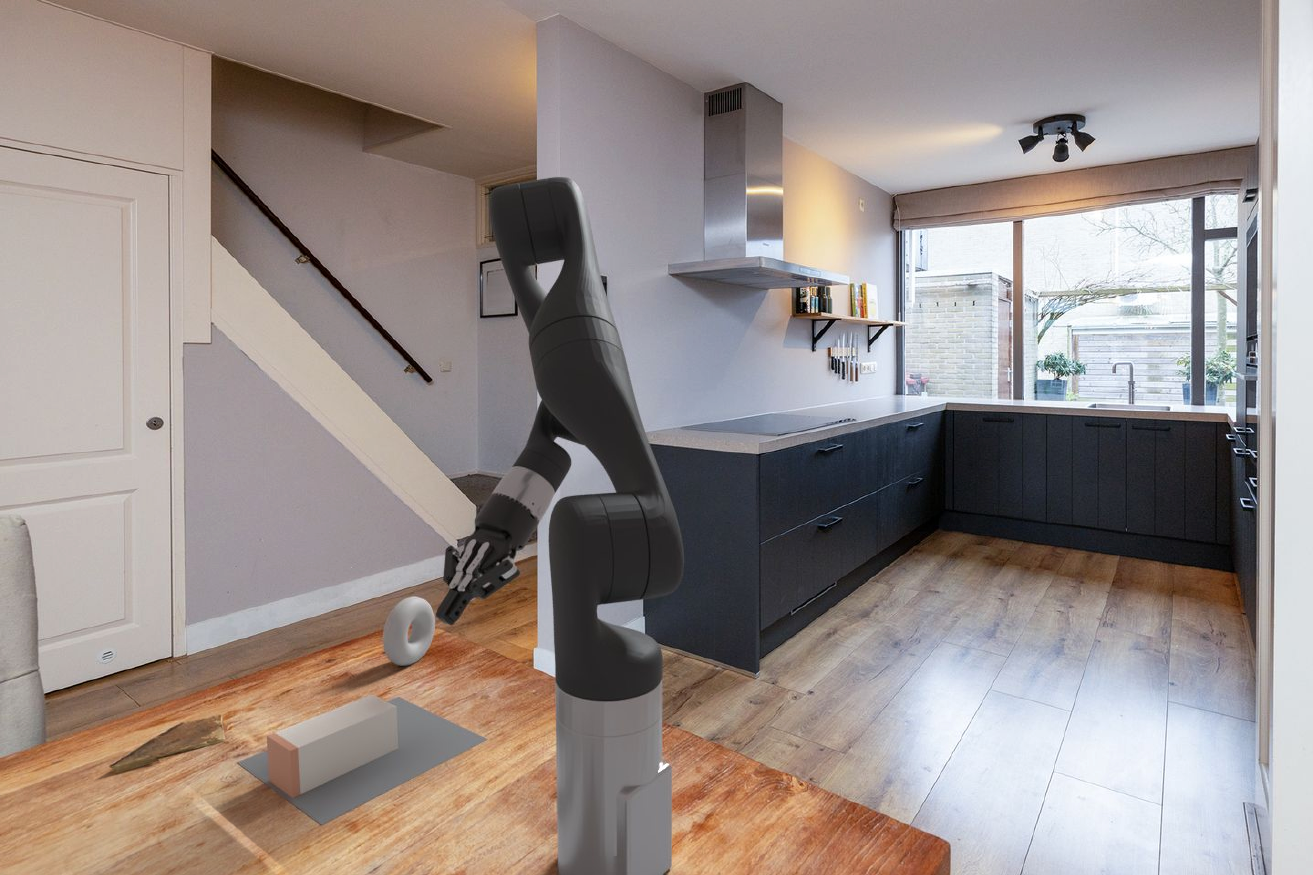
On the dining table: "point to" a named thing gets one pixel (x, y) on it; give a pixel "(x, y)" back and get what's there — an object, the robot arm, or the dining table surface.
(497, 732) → the dining table surface
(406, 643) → the donut
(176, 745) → the shard
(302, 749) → the block
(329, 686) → the dining table surface
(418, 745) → the mat
